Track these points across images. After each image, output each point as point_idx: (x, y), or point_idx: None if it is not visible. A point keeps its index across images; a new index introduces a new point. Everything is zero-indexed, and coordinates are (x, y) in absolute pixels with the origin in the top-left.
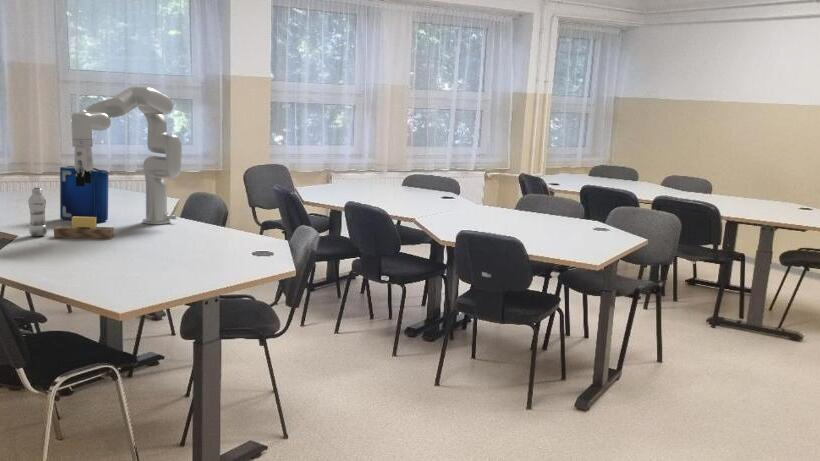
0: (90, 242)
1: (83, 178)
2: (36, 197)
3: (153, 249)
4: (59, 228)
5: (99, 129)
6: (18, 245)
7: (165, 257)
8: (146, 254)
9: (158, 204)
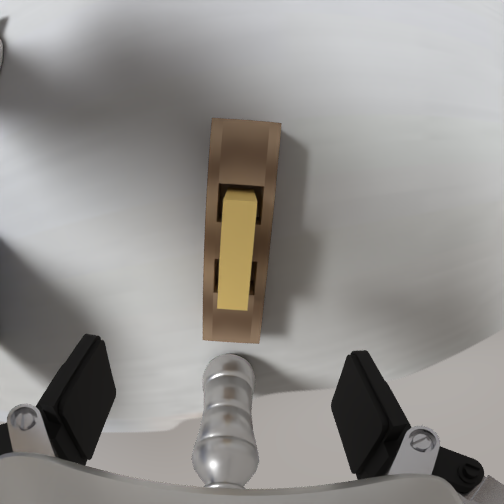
0: (340, 192)
1: (393, 412)
2: (251, 474)
3: (429, 9)
4: (259, 327)
5: None
6: None
7: (495, 14)
8: (481, 41)
9: None
